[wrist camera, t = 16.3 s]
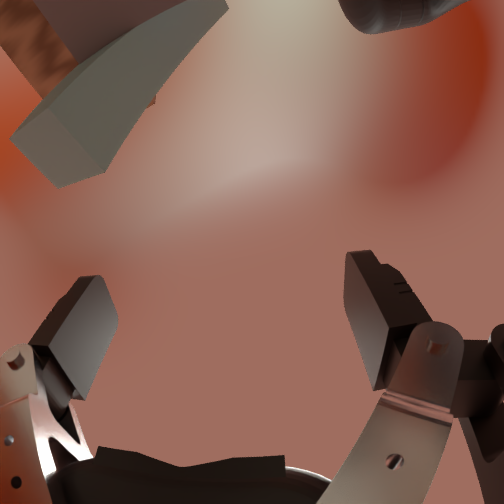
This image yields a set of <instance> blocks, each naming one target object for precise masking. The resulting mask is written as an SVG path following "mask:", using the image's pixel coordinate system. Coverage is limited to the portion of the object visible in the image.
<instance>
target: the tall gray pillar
mask: <svg viewBox="0 0 504 504" xmlns="http://www.w3.org/2000/svg"><path fill="white" fill-rule="evenodd" d="M33 1H34V3H35V4H36V6H37V7H38V8H39V10H40V11H41V13H42V14H43V15H44V17H45V18H46V20H47V21H48V22H49V24H50V25H51V27H52V28H53V29H54V31H55V32H56V33H57V35H58V36H59V38H60V39H61V40H62V42H63V43H64V44H65V46H66V47H67V48H68V50H69V51H70V53H71V54H72V55H73V57H74V58H75V59H76V61H77V62H78V63H79V65H80V64H81V63H82V62H84V61H85V60H86V59H88V58H89V57H91V56H92V55H93V54H95V53H96V52H98V51H99V50H101V49H102V48H103V47H105V46H106V45H108V44H109V43H111V42H112V41H114V40H116V39H117V38H119V37H120V36H122V35H123V34H125V33H127V32H128V31H130V30H132V29H133V28H135V27H137V26H138V25H140V24H142V23H144V22H145V21H147V20H149V19H151V18H153V17H155V16H156V15H158V14H160V13H162V12H164V11H166V10H168V9H170V8H172V7H174V6H176V5H178V4H180V3H182V2H184V1H186V0H33Z"/></svg>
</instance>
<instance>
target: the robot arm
mask: <svg viewBox="0 0 504 504" xmlns="http://www.w3.org/2000/svg"><path fill="white" fill-rule="evenodd" d="M467 1H469V0H339V3H340V6H341V8H342V10H343V12H344V14H345V16H346V18H347V19H348V20H349V22H350V23H351V24H352V25H353V26H354V27H355V28H356V29H357V30H359V31H361V32H363V33H366V34H378V33H383V32H388V31H393V30H399V29H404V28H410V27H415V26H420V25H424V24H426V23H429V22H431V21H433V20H434V19H436V18H438V17H440V16H441V15H443V14H445V13H446V12H448V11H450V10H451V9H453V8H455V7H457V6H459V5H460V4H462V3H464V2H467ZM344 307H345V311H346V314H347V317H348V320H349V322H350V325H351V328H352V330H353V333H354V336H355V339H356V342H357V345H358V348H359V350H360V353H361V356H362V359H363V362H364V365H365V368H366V371H367V374H368V377H369V380H370V383H371V386H372V389H373V391H376V390H381V389H386V392H385V393H383V394H382V396H381V398H380V400H379V401H378V403H377V405H376V407H375V409H374V411H373V413H372V415H371V417H370V419H369V420H368V422H367V424H366V426H365V428H364V430H363V431H362V433H361V435H360V437H359V438H358V440H357V442H356V444H355V445H354V447H353V449H352V450H351V452H350V454H349V455H348V457H347V459H346V460H345V462H344V463H343V465H342V466H341V468H340V470H339V471H338V473H337V474H336V476H335V477H334V479H333V480H330V479H327V478H325V477H323V476H321V475H319V474H316V473H312V472H310V471H307V470H302V469H298V468H292V467H285V457H284V455H279V456H264V457H242V458H241V457H240V458H229V459H225V460H221V461H216V462H210V463H205V464H200V465H195V466H189V467H178V466H174V465H172V464H168V463H166V462H163V461H159V460H157V459H154V458H151V457H149V456H146V455H143V454H140V453H138V452H132V451H125V450H119V449H113V448H107V447H101V446H98V449H97V453H96V456H95V458H93V456H92V455H91V453H90V451H89V449H88V447H87V444H86V441H85V438H84V436H83V433H82V430H81V427H80V424H79V421H78V418H77V415H76V412H75V409H74V407H73V406H72V404H71V403H70V402H69V401H70V399H78V400H85V399H86V397H87V394H88V392H89V390H90V387H91V385H92V383H93V380H94V378H95V376H96V373H97V371H98V369H99V367H100V364H101V362H102V360H103V358H104V355H105V353H106V351H107V348H108V347H109V344H110V342H111V340H112V338H113V336H114V334H115V331H116V330H117V326H118V315H117V312H116V309H115V307H114V304H113V302H112V299H111V297H110V294H109V291H108V289H107V286H106V284H105V281H104V279H103V278H102V277H101V276H100V275H94V276H82V277H79V278H78V280H77V281H76V282H75V283H74V284H73V286H72V287H71V288H70V290H69V291H68V292H67V294H66V295H64V296H63V297H62V298H61V299H59V301H58V302H57V303H56V305H55V306H54V307H53V309H52V311H51V312H50V313H49V314H48V316H47V317H46V319H45V320H44V321H43V322H42V324H41V326H40V327H39V328H38V330H37V331H36V333H35V334H34V335H33V337H32V338H31V340H30V341H29V343H28V344H18V345H16V346H13V347H12V348H10V349H9V350H7V351H6V352H5V353H4V354H3V355H2V357H1V358H0V504H422V503H423V501H424V499H425V497H426V494H427V492H428V490H429V487H430V485H431V483H432V480H433V478H434V475H435V473H436V470H437V468H438V465H439V462H440V459H441V457H442V454H443V451H444V448H445V445H446V442H447V439H448V436H449V433H450V430H451V426H452V422H453V418H458V419H459V421H460V424H461V427H462V430H463V433H464V436H465V438H466V441H467V444H468V447H469V450H470V453H471V456H472V460H473V463H474V466H475V469H476V473H477V476H478V480H479V483H480V487H481V491H482V495H483V498H484V502H485V504H504V403H503V400H504V324H500V325H498V326H496V327H495V328H494V329H493V331H492V333H491V335H490V337H489V339H488V340H463V338H462V336H461V335H460V333H459V332H458V331H457V330H456V329H455V328H453V327H452V326H450V325H448V324H445V323H441V322H435V321H433V320H432V319H431V317H430V316H429V314H428V313H427V311H426V309H425V308H424V306H423V305H422V303H421V302H420V300H419V299H418V297H417V296H416V295H415V293H414V292H412V289H411V287H410V286H409V284H407V282H406V280H405V279H404V277H403V276H402V274H401V273H400V271H398V270H396V269H395V268H393V267H392V266H390V265H389V264H380V263H379V261H378V260H377V258H376V257H375V255H374V254H373V252H372V251H371V250H363V251H353V252H347V254H346V261H345V280H344Z"/></svg>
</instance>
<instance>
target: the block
mask: <svg viewBox="0 0 504 504" xmlns="http://www.w3.org/2000/svg"><path fill="white" fill-rule="evenodd" d="M228 9H229V8H228V5H227V3H226V1H225V0H186V1H184V2H182V3H180V4H178V5H176V6H174V7H172V8H170V9H168V10H166V11H164V12H162V13H160V14H158V15H156V16H155V17H153V18H151V19H149V20H147V21H145V22H144V23H142V24H140V25H138V26H137V27H135V28H133V29H132V30H130V31H128V32H127V33H125V34H123V35H122V36H120V37H119V38H117V39H116V40H114V41H112V42H111V43H109V44H108V45H106V46H105V47H103V48H102V49H101V50H99V51H98V52H96V53H95V54H93V55H92V56H91V57H89V58H88V59H86V60H85V61H84V62H82V63H81V64H80V65H78V66H76V67H75V68H74V69H73V70H72V71H71V72H70V73H69V74H68V75H67V76H66V77H65V78H64V79H63V80H62V81H61V82H60V83H59V84H58V85H57V86H56V87H55V88H54V89H53V90H52V91H51V92H50V93H49V94H48V95H47V96H46V97H45V98H44V99H43V100H42V101H41V102H40V103H39V104H38V105H37V107H36V108H35V109H34V110H33V111H32V112H31V113H30V114H29V116H28V117H27V118H26V119H25V120H24V121H23V123H22V124H21V125H20V126H19V127H18V129H17V130H16V131H15V132H14V133H13V135H12V136H11V137H10V140H11V141H12V142H13V143H14V145H15V146H16V147H17V148H18V149H19V150H20V151H21V152H22V153H23V154H24V155H25V156H26V157H27V158H28V159H29V160H30V161H31V162H32V163H33V164H34V165H35V166H36V167H37V168H38V169H39V170H40V171H41V172H42V173H43V174H44V175H45V176H46V177H47V178H48V179H49V180H50V181H51V182H52V183H53V184H54V185H55V186H56V187H57V188H58V189H59V188H62V187H65V186H67V185H70V184H73V183H76V182H78V181H81V180H84V179H87V178H90V177H92V176H96V175H99V174H101V173H105V171H106V170H107V168H108V166H109V164H110V163H111V161H112V160H113V158H114V156H115V155H116V153H117V151H118V150H119V148H120V147H121V145H122V143H123V142H124V140H125V139H126V137H127V136H128V134H129V133H130V131H131V129H132V128H133V126H134V125H135V123H136V122H137V121H138V119H139V118H140V116H141V115H142V113H143V112H144V110H145V109H146V108H147V106H148V105H149V103H150V102H151V101H152V99H153V98H154V96H155V95H156V94H157V92H158V91H159V90H160V88H161V87H162V86H163V84H164V83H165V82H166V80H167V79H168V78H169V76H170V75H171V74H172V72H174V70H175V69H176V68H177V67H178V65H179V64H180V63H181V62H182V60H183V59H184V58H185V57H186V56H187V54H188V53H189V52H190V51H191V50H192V49H193V47H194V46H195V45H196V44H197V43H198V42H199V40H200V39H201V38H202V37H203V36H204V35H205V34H206V33H207V31H208V30H209V29H210V28H211V27H212V26H213V25H214V24H215V23H216V22H217V21H218V20H219V18H220V17H222V16H223V15H224V14H225V13H226V11H227V10H228Z"/></svg>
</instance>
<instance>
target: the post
mask: <svg viewBox="0 0 504 504" xmlns="http://www.w3.org/2000/svg"><path fill="white" fill-rule="evenodd" d="M0 46H1V47H2V48H3V50H4V51H5V52H6V53H7V55H8V56H9V57H10V59H11V60H12V61H13V63H14V64H15V65H16V66H17V68H18V69H19V70H20V71H21V73H22V74H23V75H24V76H25V78H26V79H27V80H28V82H29V83H30V84H31V85H32V86H33V88H34V89H35V90H36V91H37V93H38V94H39V95H40V96H41V97H42V99H44V98H45V97H46V96H47V95H48V94H49V93H50V92H51V91H52V90H53V89H54V88H55V87H56V86H57V85H58V84H59V83H60V82H61V81H62V80H63V79H64V78H65V77H66V76H67V75H68V74H69V73H70V72H71V71H72V70H73V69H74V68H75V67H76V66H78V65H79V63H78V62H77V61H76V59H75V58H74V57H73V55H72V54H71V53H70V51H69V50H68V48H67V47H66V46H65V44H64V43H63V42H62V40H61V39H60V38H59V36H58V35H57V33H56V32H55V31H54V29H53V28H52V27H51V25H50V24H49V22H48V21H47V20H46V18H45V17H44V15H43V14H42V13H41V11H40V10H39V8H38V7H37V6H36V4H35V3H34V1H33V0H0ZM155 99H156V95H155V96H154V98H153V99H152V101H151V102H150V103H149V105H148V106H147V108H148V107H150V106H151V105H153V104H155Z"/></svg>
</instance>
